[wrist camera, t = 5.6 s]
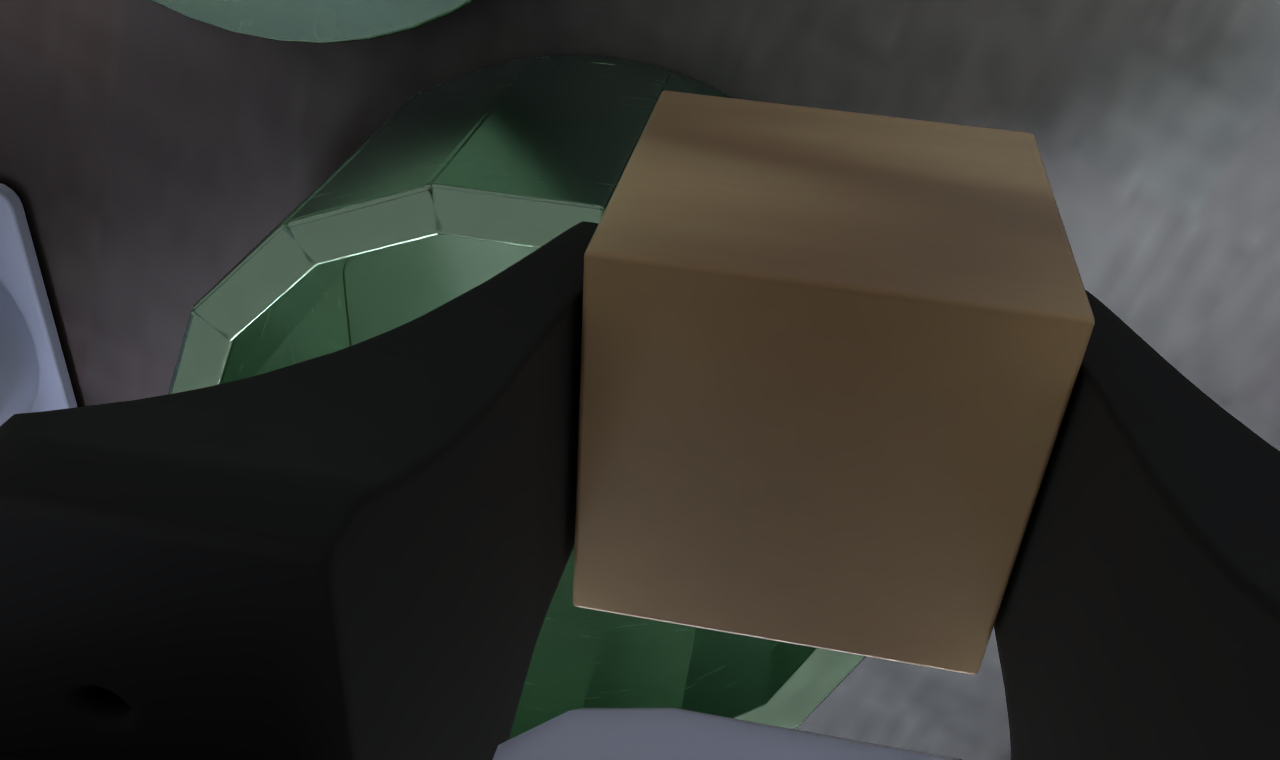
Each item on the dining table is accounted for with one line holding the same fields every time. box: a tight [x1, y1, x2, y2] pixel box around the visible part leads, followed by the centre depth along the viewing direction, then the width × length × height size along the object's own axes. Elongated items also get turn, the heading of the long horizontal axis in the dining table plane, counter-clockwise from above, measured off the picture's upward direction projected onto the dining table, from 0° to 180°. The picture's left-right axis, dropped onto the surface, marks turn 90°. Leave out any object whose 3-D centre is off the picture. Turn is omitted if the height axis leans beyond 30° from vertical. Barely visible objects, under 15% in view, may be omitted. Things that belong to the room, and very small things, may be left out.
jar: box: [168, 55, 866, 740], centre depth 22 cm, size 13×13×6 cm
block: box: [573, 91, 1095, 674], centre depth 11 cm, size 4×4×4 cm
